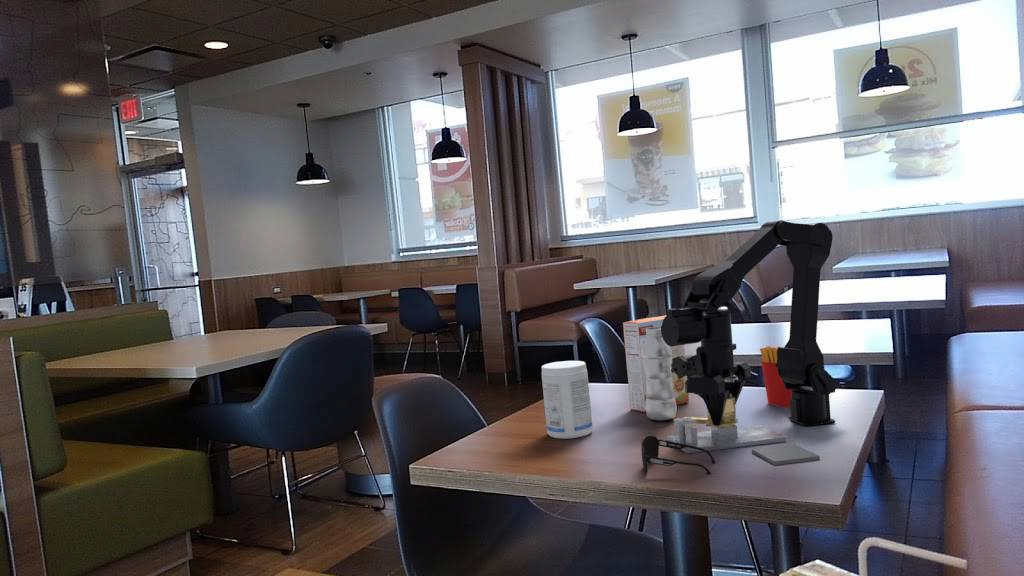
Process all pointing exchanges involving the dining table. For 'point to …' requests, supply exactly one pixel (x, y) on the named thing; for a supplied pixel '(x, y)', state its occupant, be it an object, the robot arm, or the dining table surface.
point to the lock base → (736, 442)
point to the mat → (785, 454)
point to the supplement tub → (566, 399)
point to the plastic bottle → (658, 376)
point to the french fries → (774, 379)
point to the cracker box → (635, 368)
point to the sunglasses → (652, 451)
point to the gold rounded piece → (728, 415)
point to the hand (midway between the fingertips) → (722, 422)
